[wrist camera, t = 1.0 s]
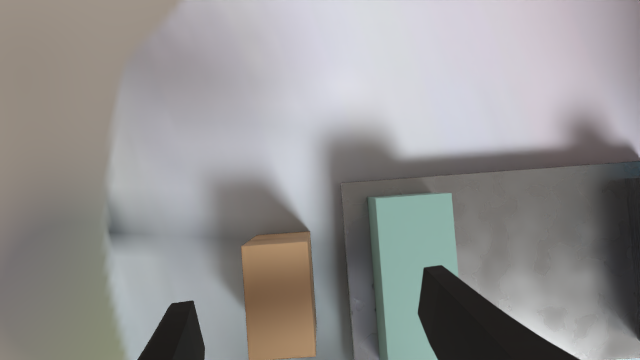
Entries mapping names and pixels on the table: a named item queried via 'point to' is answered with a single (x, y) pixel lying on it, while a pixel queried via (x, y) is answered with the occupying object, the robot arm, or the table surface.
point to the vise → (526, 252)
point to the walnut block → (279, 296)
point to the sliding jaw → (407, 265)
